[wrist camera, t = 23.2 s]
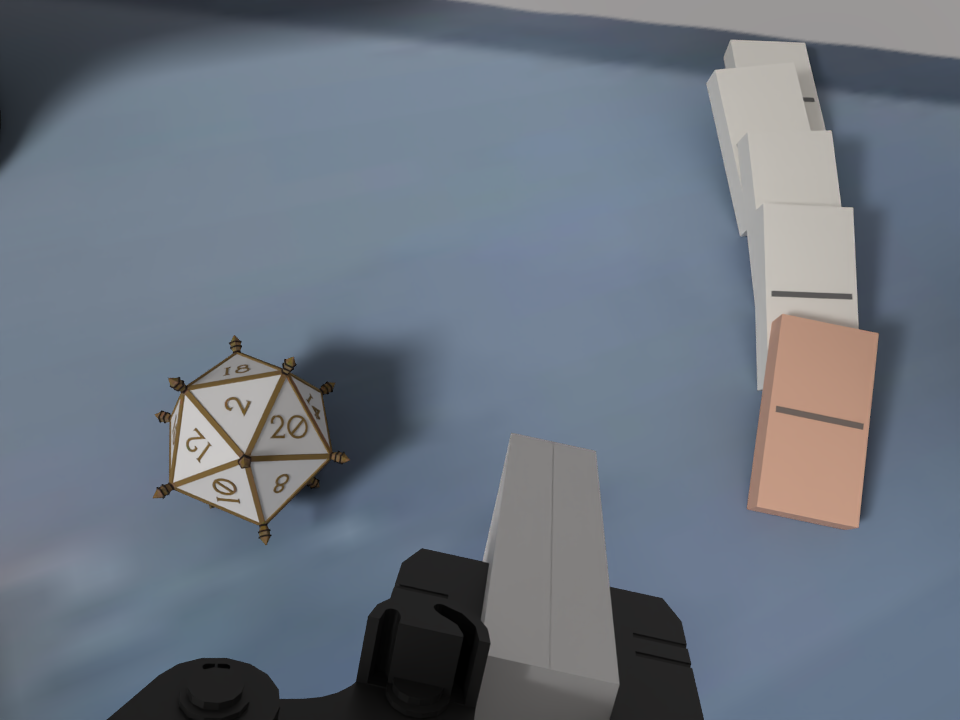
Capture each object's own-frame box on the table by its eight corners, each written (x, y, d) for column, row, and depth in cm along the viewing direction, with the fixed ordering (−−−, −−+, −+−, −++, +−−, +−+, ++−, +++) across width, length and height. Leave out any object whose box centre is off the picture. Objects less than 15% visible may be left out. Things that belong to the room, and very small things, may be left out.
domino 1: (833, 161, 56) (805, 42, 61) (753, 159, 56) (730, 39, 60) (822, 179, 58) (795, 61, 62) (744, 176, 57) (722, 58, 62)
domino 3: (854, 300, 51) (832, 130, 53) (767, 304, 51) (747, 131, 52) (839, 307, 53) (818, 141, 54) (755, 310, 52) (736, 143, 54)
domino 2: (832, 217, 54) (794, 61, 56) (750, 226, 53) (715, 69, 55) (819, 227, 55) (783, 76, 57) (739, 236, 55) (706, 83, 57)
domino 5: (858, 527, 45) (879, 332, 47) (757, 506, 45) (782, 313, 47) (844, 529, 46) (864, 341, 49) (746, 509, 46) (771, 322, 49)
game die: (289, 463, 50) (371, 324, 45) (305, 592, 44) (402, 447, 39) (118, 427, 45) (189, 269, 41) (109, 566, 39) (192, 398, 34)
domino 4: (861, 389, 48) (853, 207, 50) (769, 386, 48) (763, 202, 50) (847, 393, 50) (839, 217, 52) (757, 390, 50) (752, 213, 51)
